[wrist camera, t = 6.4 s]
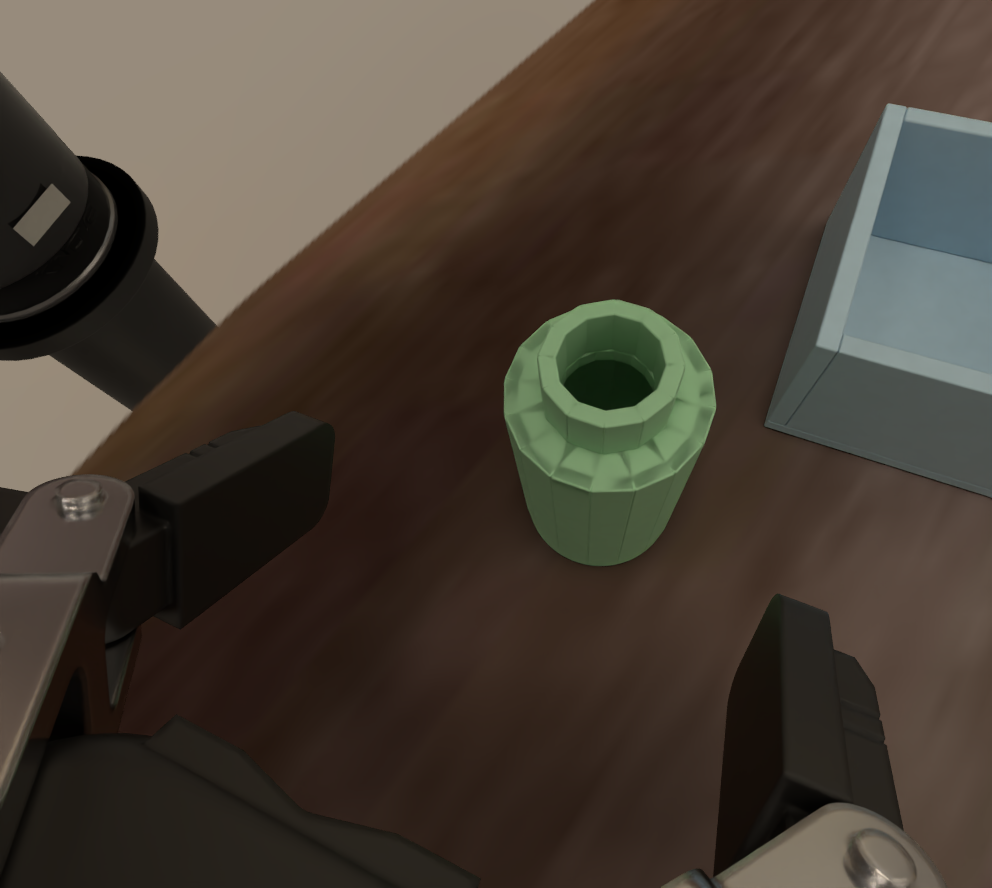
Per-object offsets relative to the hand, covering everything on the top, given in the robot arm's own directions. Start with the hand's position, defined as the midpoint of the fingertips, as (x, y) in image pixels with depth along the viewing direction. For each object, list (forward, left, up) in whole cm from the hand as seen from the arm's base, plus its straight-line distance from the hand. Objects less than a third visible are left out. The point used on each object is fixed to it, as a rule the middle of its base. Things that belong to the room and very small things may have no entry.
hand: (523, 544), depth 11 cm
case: (+9, +14, -11) cm, 19 cm away
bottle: (0, +5, -11) cm, 12 cm away
